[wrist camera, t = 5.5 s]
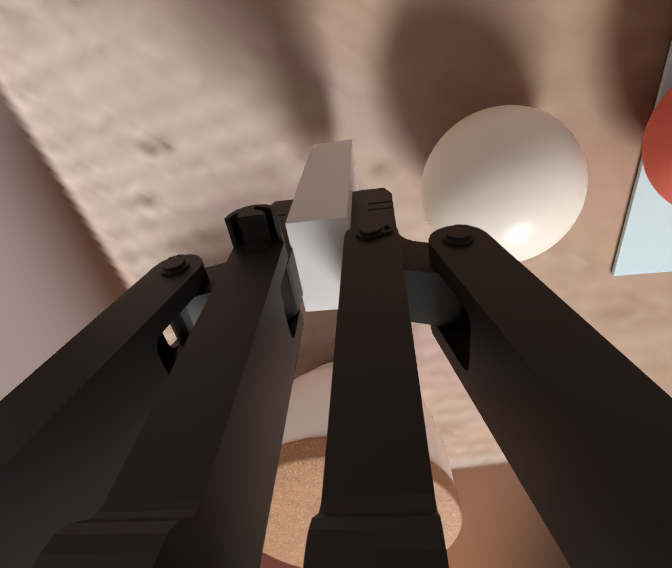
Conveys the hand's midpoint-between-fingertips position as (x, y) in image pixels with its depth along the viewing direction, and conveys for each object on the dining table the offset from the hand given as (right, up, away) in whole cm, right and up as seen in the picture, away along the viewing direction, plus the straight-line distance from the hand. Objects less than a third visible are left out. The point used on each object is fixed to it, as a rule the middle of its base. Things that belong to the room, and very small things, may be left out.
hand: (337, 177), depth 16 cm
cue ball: (+6, -1, -1) cm, 6 cm away
